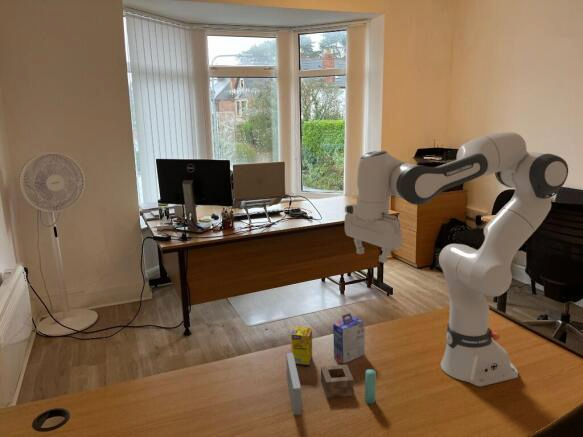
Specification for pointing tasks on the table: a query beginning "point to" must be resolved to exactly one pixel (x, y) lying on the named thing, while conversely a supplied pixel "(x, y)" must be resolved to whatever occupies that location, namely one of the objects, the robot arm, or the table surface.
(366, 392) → the dowel
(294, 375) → the wall
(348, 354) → the ink cartridge box
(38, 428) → the table surface
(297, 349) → the supplement box
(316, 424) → the table surface
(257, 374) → the table surface
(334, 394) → the block
